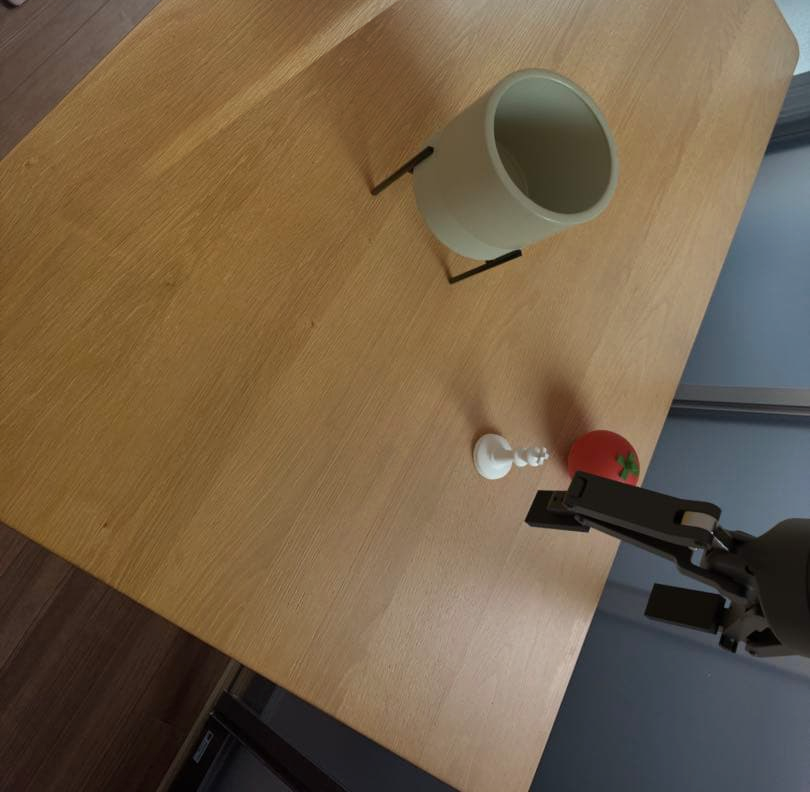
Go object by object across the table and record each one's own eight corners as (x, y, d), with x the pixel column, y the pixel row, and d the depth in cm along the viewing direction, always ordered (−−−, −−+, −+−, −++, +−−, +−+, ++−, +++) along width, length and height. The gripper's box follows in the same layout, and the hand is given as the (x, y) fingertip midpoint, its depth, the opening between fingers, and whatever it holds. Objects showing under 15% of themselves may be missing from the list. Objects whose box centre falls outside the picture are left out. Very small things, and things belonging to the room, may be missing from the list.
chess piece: (467, 468, 80) (520, 469, 71) (481, 426, 82) (534, 422, 73) (502, 486, 81) (558, 489, 73) (515, 444, 83) (571, 443, 75)
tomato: (590, 514, 86) (647, 519, 78) (543, 475, 84) (596, 477, 76) (615, 455, 90) (671, 455, 82) (570, 417, 88) (623, 413, 80)
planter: (512, 222, 91) (647, 156, 71) (437, 306, 83) (566, 257, 64) (433, 129, 89) (549, 35, 70) (349, 205, 81) (454, 123, 62)
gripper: (995, 643, 44) (710, 593, 62) (731, 403, 39) (502, 424, 57) (983, 776, 41) (684, 683, 59) (690, 531, 35) (459, 511, 53)
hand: (594, 555), depth 58 cm, fingers open, 13 cm apart
